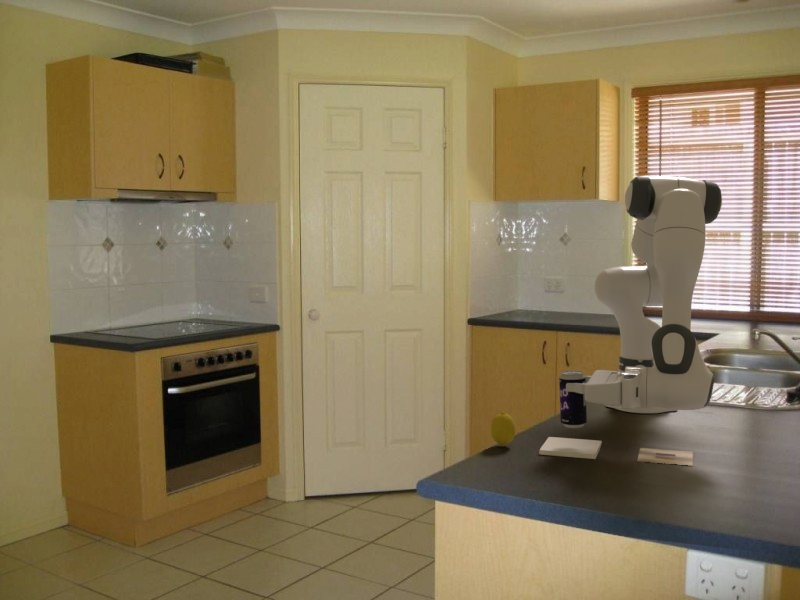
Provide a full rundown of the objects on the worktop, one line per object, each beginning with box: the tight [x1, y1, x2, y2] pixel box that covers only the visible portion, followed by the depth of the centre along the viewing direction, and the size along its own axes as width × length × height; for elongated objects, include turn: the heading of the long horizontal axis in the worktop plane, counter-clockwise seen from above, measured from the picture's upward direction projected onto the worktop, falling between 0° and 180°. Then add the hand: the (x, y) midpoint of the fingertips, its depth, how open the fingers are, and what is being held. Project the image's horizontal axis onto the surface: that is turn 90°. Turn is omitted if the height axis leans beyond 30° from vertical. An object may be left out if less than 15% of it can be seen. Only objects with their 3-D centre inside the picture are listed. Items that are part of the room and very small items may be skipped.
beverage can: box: [558, 370, 588, 429], centre depth 180 cm, size 6×6×12 cm
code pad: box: [636, 447, 694, 467], centre depth 174 cm, size 11×11×1 cm
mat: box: [538, 436, 603, 460], centre depth 181 cm, size 12×12×1 cm
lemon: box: [490, 411, 516, 448], centre depth 184 cm, size 6×6×8 cm
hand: (568, 383), depth 180 cm, fingers closed on beverage can, 6 cm apart
